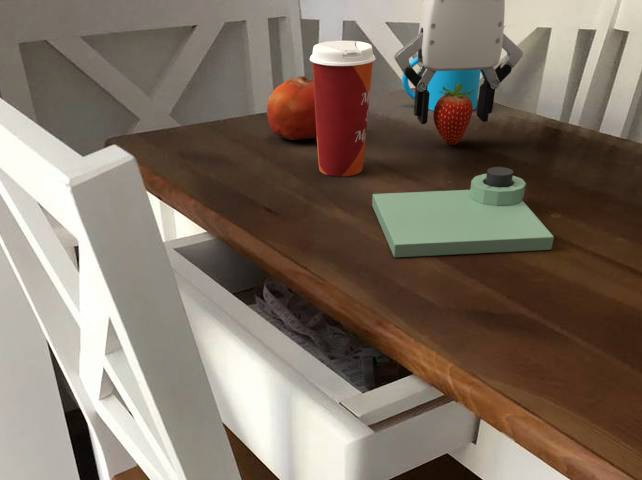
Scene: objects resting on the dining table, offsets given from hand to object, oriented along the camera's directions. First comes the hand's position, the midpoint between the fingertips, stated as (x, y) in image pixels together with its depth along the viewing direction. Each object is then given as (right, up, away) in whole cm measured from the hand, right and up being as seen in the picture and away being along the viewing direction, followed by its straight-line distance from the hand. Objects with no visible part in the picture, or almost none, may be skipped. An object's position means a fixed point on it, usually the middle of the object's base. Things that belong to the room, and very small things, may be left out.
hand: (452, 119), depth 99 cm
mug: (+1, +10, +18) cm, 21 cm away
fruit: (0, -3, +2) cm, 3 cm away
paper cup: (-15, -9, -5) cm, 18 cm away
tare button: (+2, -15, -18) cm, 24 cm away
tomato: (-20, 0, +6) cm, 21 cm away
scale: (-4, -20, -20) cm, 29 cm away
